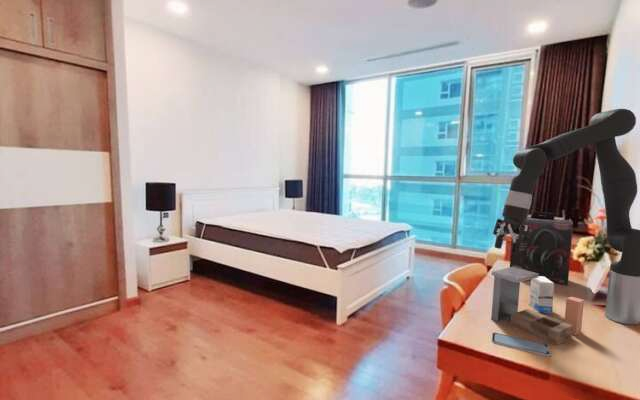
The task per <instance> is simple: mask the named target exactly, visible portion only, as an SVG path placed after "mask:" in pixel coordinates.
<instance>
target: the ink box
mask: <svg viewBox="0 0 640 400" xmlns="http://www.w3.org/2000/svg"><path fill="white" fill-rule="evenodd" d="M554 288H555V283H553V282H551V281H550V280H548V279H547V278H546V277H543V276H539V277H537V278H533V279H530V291H529V292H530V293H529V303H528V304H529V305H530V306H532V307H533V308H534V310H536V312H537V313H541V314H543V313H544V314H545V313H546V314H553V304H554V291H555V289H554Z"/></svg>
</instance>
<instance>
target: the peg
mask: <svg viewBox="0 0 640 400" xmlns="http://www.w3.org/2000/svg"><path fill="white" fill-rule="evenodd" d="M584 307H585V300H584V299H581V298H578V297H575V296H569V297H567V298H566V302H565V313H564V321H563V322H565V323H568V324H570V325H573V330H572V335H579V334H580V333H582V326H583V318H584V317H583V316H584V315H583V314H584Z"/></svg>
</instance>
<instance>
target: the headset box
mask: <svg viewBox="0 0 640 400" xmlns="http://www.w3.org/2000/svg"><path fill="white" fill-rule="evenodd" d="M523 225H528V226H530V229H529V234H528V238H527V242H526V243H522V244H521V245H520V248H519V252H518V254H517V255H515V254H511V253H510V254H509V255H510V257H509V268H510V267H516V268H520V269H523V270H527V271H531V272H534V273H538V274H539V276H543V277H546V278H547V279H548V280H550V281H551V282H553V283H554V284H558V285H562V286H568V285H569V277H570V262H571V252H572V251H571V250H572V241H573V229H574V225H573V220H572V219H559V218H557V219H556V218H555V216H554V213H553V212H544V211H532V213H531V215H530V216H527V220H526V221H523ZM510 238H511V239H510V240H511V241H510V242H511V243H510V248H511V247H512V243H514V242H513V238H512V237H511V236H510ZM523 238H524V236H522V239H523Z"/></svg>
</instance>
